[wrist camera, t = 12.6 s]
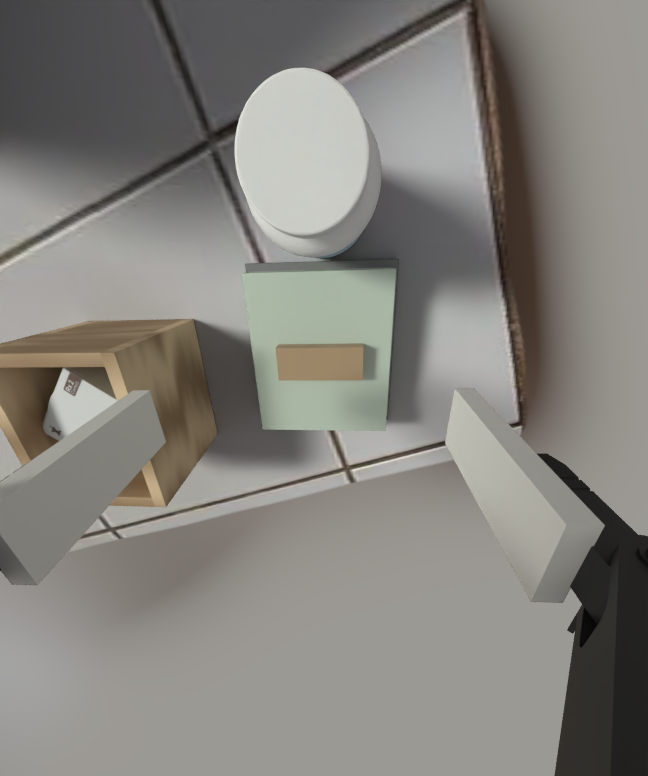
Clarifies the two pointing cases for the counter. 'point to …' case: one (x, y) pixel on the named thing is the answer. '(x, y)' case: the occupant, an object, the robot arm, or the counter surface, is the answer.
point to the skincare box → (77, 400)
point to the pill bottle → (307, 163)
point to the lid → (321, 346)
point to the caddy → (116, 392)
